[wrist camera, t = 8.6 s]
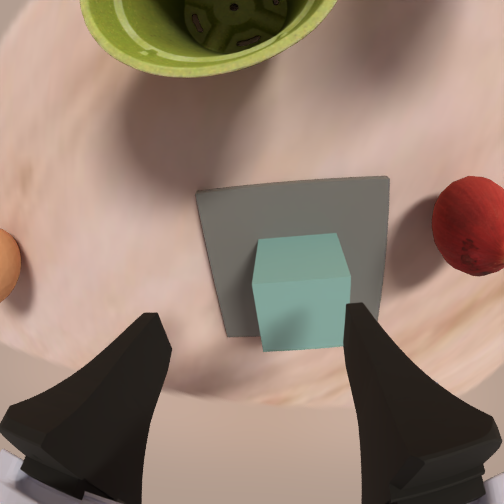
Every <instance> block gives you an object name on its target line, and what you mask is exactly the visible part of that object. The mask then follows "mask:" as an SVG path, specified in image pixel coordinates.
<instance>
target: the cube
mask: <svg viewBox="0 0 504 504" xmlns="http://www.w3.org/2000/svg"><path fill="white" fill-rule="evenodd" d="M252 288H253V294H254V300H255V306H256V312H257V317H258V323H259V329H260V335H261V341H262V347H263V352H270V351H290V350H305V349H318V348H330V347H340V346H343V337H344V325H345V311H346V304H348V303H350V289H351V275H350V272H349V269H348V266H347V263H346V260H345V257H344V254H343V251H342V248H341V245H340V242H339V239H338V236H337V233H329V234H317V235H304V236H292V237H280V238H268V239H258V246H257V253H256V260H255V266H254V273H253V280H252Z"/></svg>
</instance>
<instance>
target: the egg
mask: <svg viewBox="0 0 504 504" xmlns="http://www.w3.org/2000/svg"><path fill="white" fill-rule="evenodd" d="M20 269H21V256H20V251H19V247H18V245H17V243H16V241H15V240H14V238H13V237H12V236H11V235H10V234H9V233H7V232H6V231H5V230H3V229H0V302H2V301H3V300H4V299H5V298H6V297H7V296H8V295H9V294H10V293H11V291H12V290H13V289H14V287H15V285H16V283H17V281H18V278H19V274H20Z"/></svg>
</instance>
